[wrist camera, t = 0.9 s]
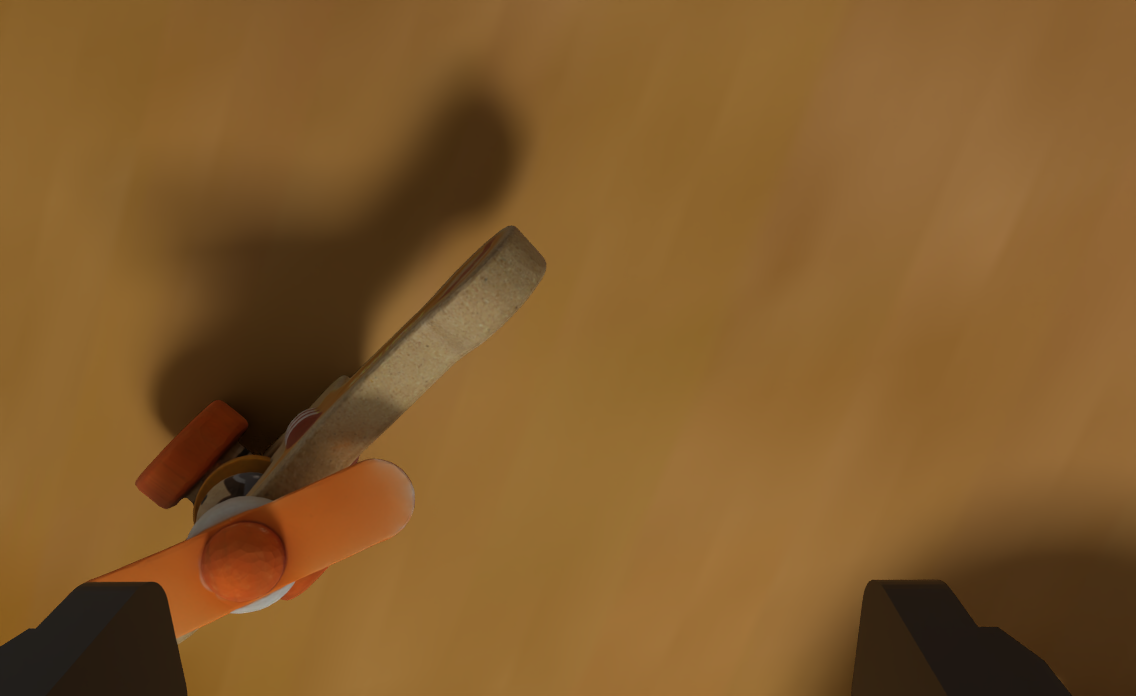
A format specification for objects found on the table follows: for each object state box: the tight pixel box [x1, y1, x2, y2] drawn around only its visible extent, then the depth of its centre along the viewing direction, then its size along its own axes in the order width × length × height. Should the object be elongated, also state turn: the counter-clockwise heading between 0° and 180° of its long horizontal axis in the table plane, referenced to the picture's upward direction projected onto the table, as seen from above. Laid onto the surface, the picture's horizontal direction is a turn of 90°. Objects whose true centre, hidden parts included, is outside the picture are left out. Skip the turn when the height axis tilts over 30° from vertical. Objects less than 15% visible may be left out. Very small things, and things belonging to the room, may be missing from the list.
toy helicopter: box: [85, 226, 546, 645], centre depth 29 cm, size 8×21×14 cm, turn 134°
